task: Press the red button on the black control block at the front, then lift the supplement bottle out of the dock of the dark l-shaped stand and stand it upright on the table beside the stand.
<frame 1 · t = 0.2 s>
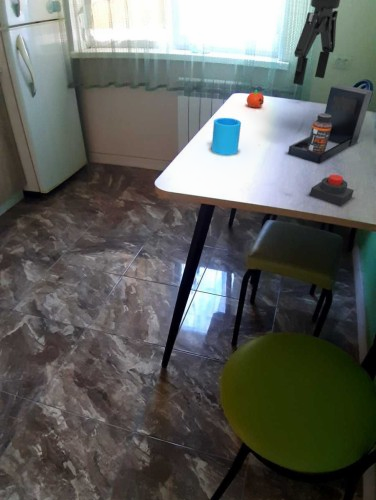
hand: (308, 80, 124), 20 cm above the table, tool pointing down, fingers open, 13 cm apart
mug: (225, 148, 135), on the table
start button: (335, 180, 108), point 4 cm above the table, slide at 0.1 cm
dark l-shaped stand: (318, 150, 137), on the table
control block: (330, 196, 111), on the table
pumpkin: (254, 107, 173), on the table
supplement bottle: (315, 152, 136), resting in dark l-shaped stand
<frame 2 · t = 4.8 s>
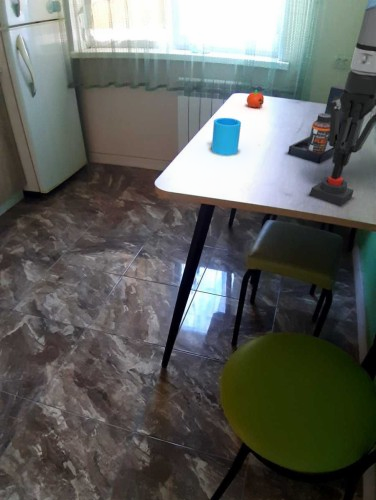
hand: (335, 176, 108), 5 cm above the table, tool pointing down, fingers closed
start button: (335, 181, 108), point 4 cm above the table, slide at -0.1 cm, touching gripper
everything else where it was.
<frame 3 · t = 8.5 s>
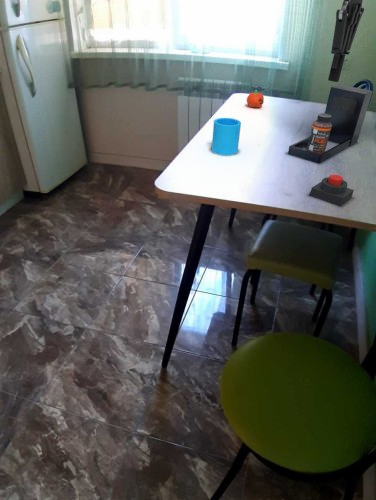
hand: (333, 80, 120), 21 cm above the table, tool pointing down, fingers closed
start button: (335, 180, 108), point 4 cm above the table, slide at 0.1 cm
everything else where it was.
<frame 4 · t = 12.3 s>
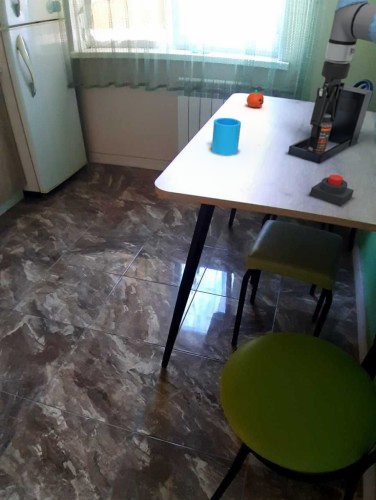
hand: (317, 144, 134), 2 cm above the table, tool pointing down, fingers closed on supplement bottle, 6 cm apart
supplement bottle: (315, 152, 136), resting in dark l-shaped stand, touching gripper
everything else where it was.
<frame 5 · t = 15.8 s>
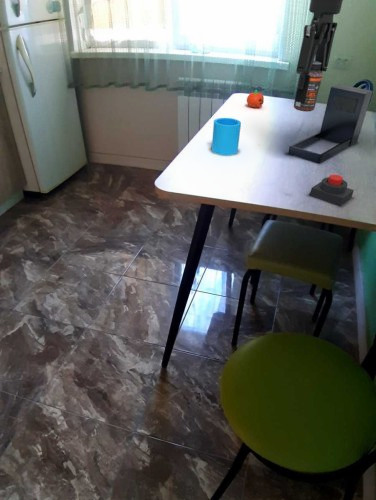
hand: (305, 99, 115), 18 cm above the table, tool pointing down, fingers closed on supplement bottle, 6 cm apart
supplement bottle: (303, 109, 116), point 15 cm above the table, touching gripper
everything else where it was.
when the fingers open (2 cm above the table, at t = 19.6 s): supplement bottle stays where it is, on the table.
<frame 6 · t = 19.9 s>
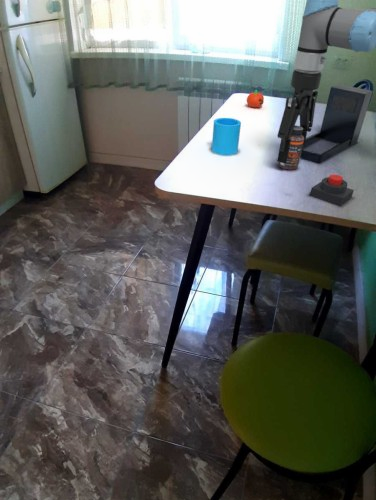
hand: (289, 157, 124), 3 cm above the table, tool pointing down, fingers open, 9 cm apart
supplement bottle: (287, 167, 126), on the table
everything else where it was.
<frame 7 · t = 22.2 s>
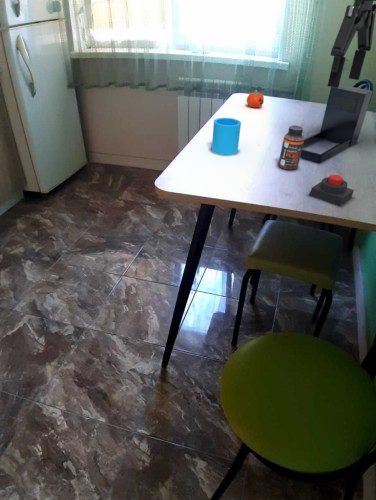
hand: (343, 82, 110), 23 cm above the table, tool pointing down, fingers open, 13 cm apart
nothing on the table moved.
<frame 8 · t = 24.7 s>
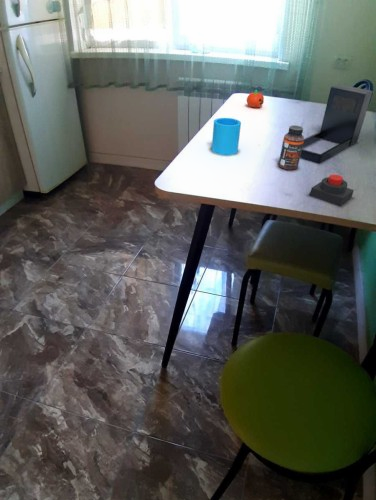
nothing on the table moved.
at the end: start button pushed in 1.0 cm at the most during the clip, back to where it started at the end; supplement bottle inside the target area (0.0 cm from its centre), on the table; supplement bottle tilted 0° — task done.
